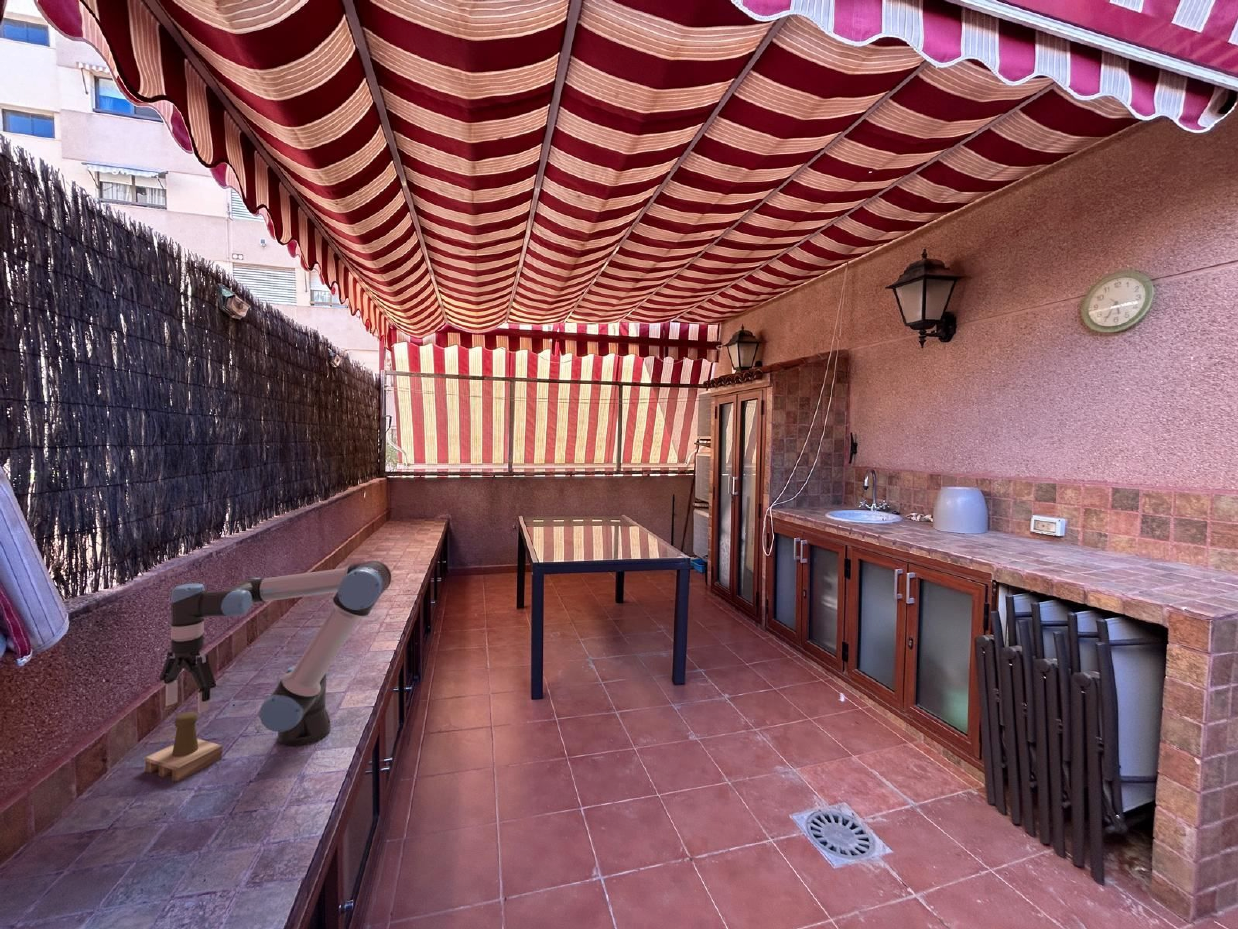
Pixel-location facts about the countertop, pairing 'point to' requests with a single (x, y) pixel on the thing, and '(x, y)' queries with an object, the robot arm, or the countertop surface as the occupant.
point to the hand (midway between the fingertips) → (187, 707)
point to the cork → (185, 735)
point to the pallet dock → (183, 760)
